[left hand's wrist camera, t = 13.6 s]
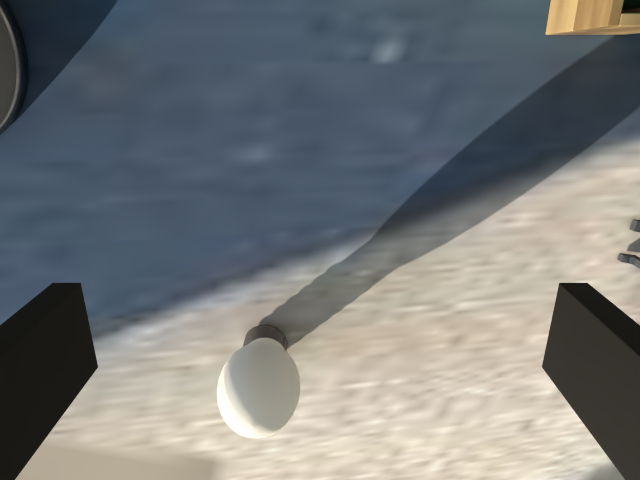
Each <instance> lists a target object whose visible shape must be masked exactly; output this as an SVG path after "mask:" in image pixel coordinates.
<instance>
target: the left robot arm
mask: <svg viewBox="0 0 640 480" xmlns="http://www.w3.org/2000/svg"><path fill="white" fill-rule="evenodd" d="M27 74H28V69H27V58H26V52H25V47H24V43H23V39H22V36H21V33H20V30H19V27H18V25H17V23H16V21H15V18H14V16H13V14H12V13H11V11H10V9H9V7H8V5H7V4H6V2H5V1H4V0H0V135H1V134H2V133H3V132H4V131H5V130H6V129H7V128H8V127H9V126H10V125H11V123H12V122H13V121H14V119H15V118H16V116H17V114H18V112H19V110H20V108H21V106H22V103H23V100H24V97H25V93H26V87H27ZM97 368H98V365H97V360H96V355H95V350H94V345H93V341H92V336H91V331H90V326H89V321H88V316H87V312H86V307H85V302H84V297H83V292H82V287H81V283H52V284H51V285H50V286H48V287H47V288H46V289H45V290H43V291H42V292H41V293H40V294H38V295H37V296H36V297H35V298H34V299H32V300H31V301H30V302H29V303H27V304H26V305H25V306H24V307H22V308H21V309H20V310H19V311H17V312H16V313H15V314H14V315H13V316H11V317H10V318H9V319H8V320H6V321H5V322H4V323H3V324H1V325H0V480H15V479H16V477H17V476H18V475H19V473H20V472H21V471H22V469H23V468H24V467H25V465H26V464H27V463H28V461H29V460H30V458H31V457H32V456H33V454H34V453H35V452H36V450H37V449H38V448H39V446H40V445H41V444H42V442H43V441H44V439H45V438H46V437H47V435H48V434H49V433H50V431H51V430H52V429H53V427H54V426H55V425H56V423H57V422H58V421H59V419H60V418H61V416H62V415H63V414H64V412H65V411H66V410H67V408H68V407H69V406H70V404H71V403H72V402H73V400H74V399H75V397H76V396H77V395H78V393H79V392H80V391H81V389H82V388H83V387H84V385H85V384H86V383H87V381H88V380H89V379H90V377H91V376H92V374H93V373H94V372H95V370H96V369H97ZM542 368H543V369H544V370H545V372H546V373H547V374H548V376H549V377H550V379H551V380H552V381H553V383H554V384H555V385H556V387H557V388H558V389H559V391H560V392H561V393H562V395H563V396H564V397H565V399H566V400H567V402H568V403H569V404H570V406H571V407H572V408H573V410H574V411H575V412H576V414H577V415H578V416H579V418H580V419H581V421H582V422H583V423H584V425H585V426H586V427H587V429H588V430H589V431H590V433H591V434H592V435H593V437H594V438H595V439H596V441H597V442H598V444H599V445H600V446H601V448H602V449H603V450H604V452H605V453H606V454H607V456H608V457H609V458H610V460H611V461H612V463H613V464H614V465H615V467H616V468H617V469H618V471H619V472H620V473H621V475H622V476H623V477H624V479H625V480H640V325H639V324H637V323H636V322H635V321H634V320H632V319H631V318H630V317H629V316H627V315H626V314H625V313H624V312H623V311H621V310H620V309H619V308H618V307H616V306H615V305H614V304H613V303H611V302H610V301H609V300H608V299H606V298H605V297H604V296H603V295H602V294H600V293H599V292H598V291H597V290H595V289H594V288H593V287H592V286H590V285H589V284H588V283H559V287H558V292H557V297H556V302H555V307H554V312H553V316H552V321H551V326H550V331H549V336H548V341H547V345H546V350H545V355H544V360H543V365H542Z"/></svg>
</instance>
